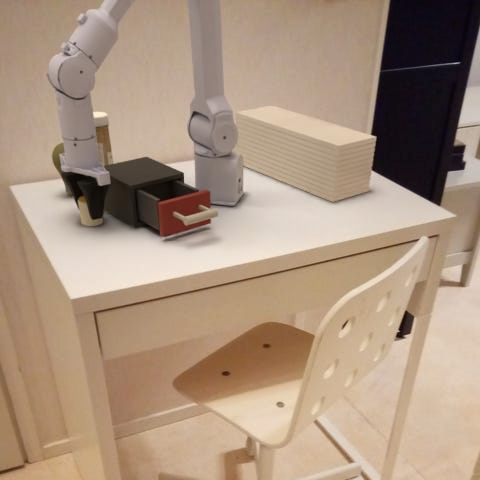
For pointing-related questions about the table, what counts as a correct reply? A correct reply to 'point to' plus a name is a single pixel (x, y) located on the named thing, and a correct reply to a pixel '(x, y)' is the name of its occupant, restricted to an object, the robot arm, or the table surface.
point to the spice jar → (103, 138)
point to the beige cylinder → (87, 214)
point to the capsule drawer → (173, 207)
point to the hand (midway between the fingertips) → (91, 214)
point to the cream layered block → (305, 152)
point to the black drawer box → (134, 185)
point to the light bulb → (56, 160)
